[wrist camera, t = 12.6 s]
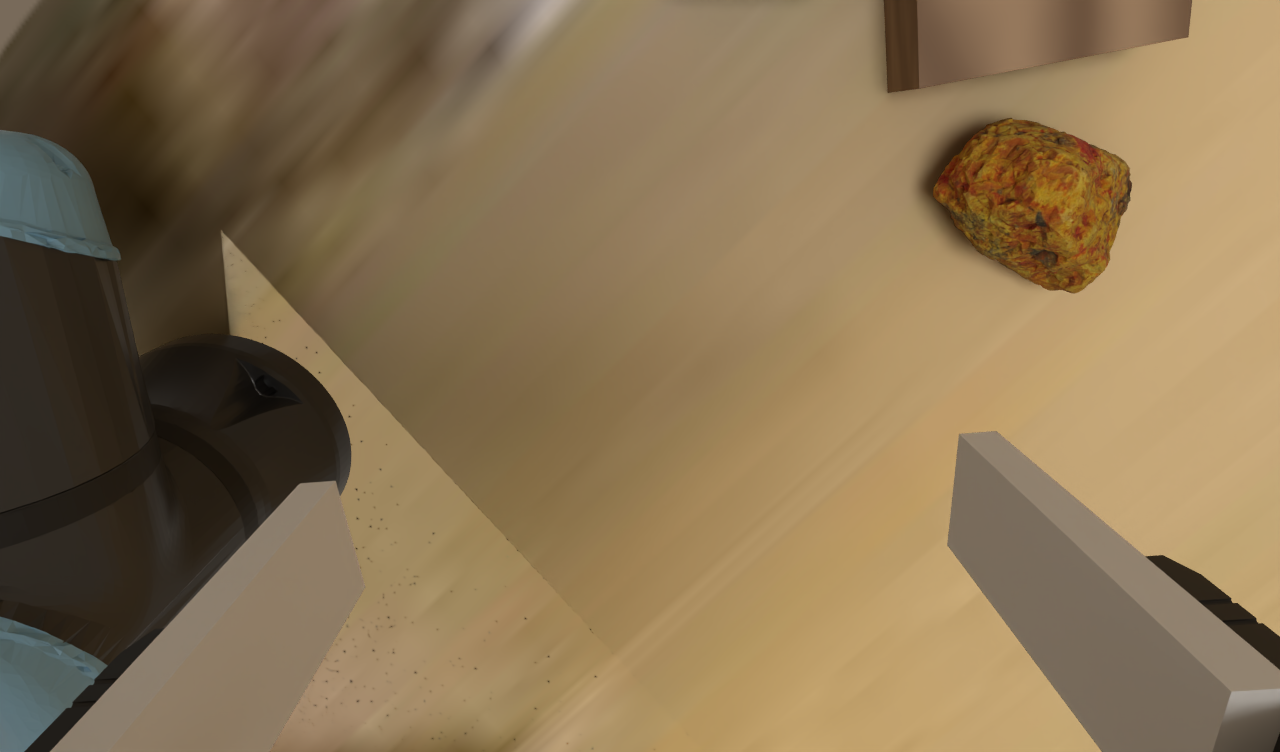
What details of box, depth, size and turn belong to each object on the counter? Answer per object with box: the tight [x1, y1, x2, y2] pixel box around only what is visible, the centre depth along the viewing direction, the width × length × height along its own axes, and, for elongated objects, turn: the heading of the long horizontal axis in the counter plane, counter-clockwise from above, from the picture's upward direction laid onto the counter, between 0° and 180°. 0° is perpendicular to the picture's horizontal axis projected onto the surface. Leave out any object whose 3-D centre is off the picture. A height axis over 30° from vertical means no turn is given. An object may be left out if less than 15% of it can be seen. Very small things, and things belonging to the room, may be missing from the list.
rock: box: [933, 118, 1132, 293], centre depth 39 cm, size 11×8×10 cm
